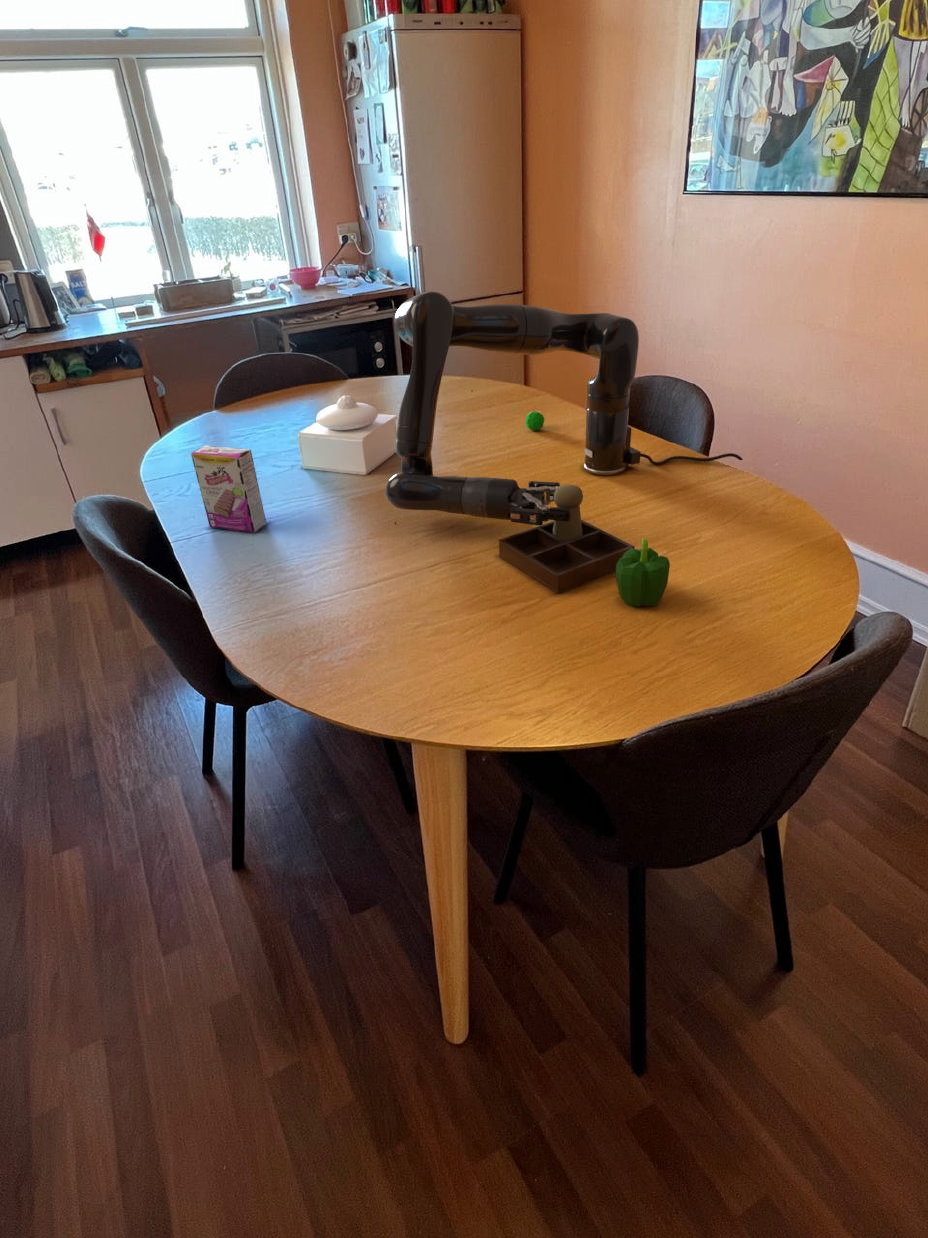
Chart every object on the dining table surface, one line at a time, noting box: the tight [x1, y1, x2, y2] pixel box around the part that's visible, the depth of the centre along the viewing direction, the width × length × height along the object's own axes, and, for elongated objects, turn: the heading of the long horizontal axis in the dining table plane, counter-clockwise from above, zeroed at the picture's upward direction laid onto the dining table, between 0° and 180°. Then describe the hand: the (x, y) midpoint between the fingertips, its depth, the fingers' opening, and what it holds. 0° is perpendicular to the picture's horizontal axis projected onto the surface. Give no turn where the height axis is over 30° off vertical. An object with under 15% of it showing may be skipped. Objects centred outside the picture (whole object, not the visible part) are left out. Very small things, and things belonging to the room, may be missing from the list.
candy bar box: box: [190, 445, 267, 534], centre depth 150 cm, size 11×5×16 cm, turn 71°
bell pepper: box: [615, 538, 671, 608], centre depth 119 cm, size 8×8×10 cm
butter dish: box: [296, 394, 398, 476], centre depth 181 cm, size 18×18×16 cm
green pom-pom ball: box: [524, 410, 545, 432], centre depth 196 cm, size 5×5×5 cm
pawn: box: [552, 484, 584, 542], centre depth 136 cm, size 6×6×11 cm
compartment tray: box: [498, 519, 635, 595], centre depth 133 cm, size 17×17×4 cm
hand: (575, 505), depth 134 cm, fingers open, 8 cm apart
